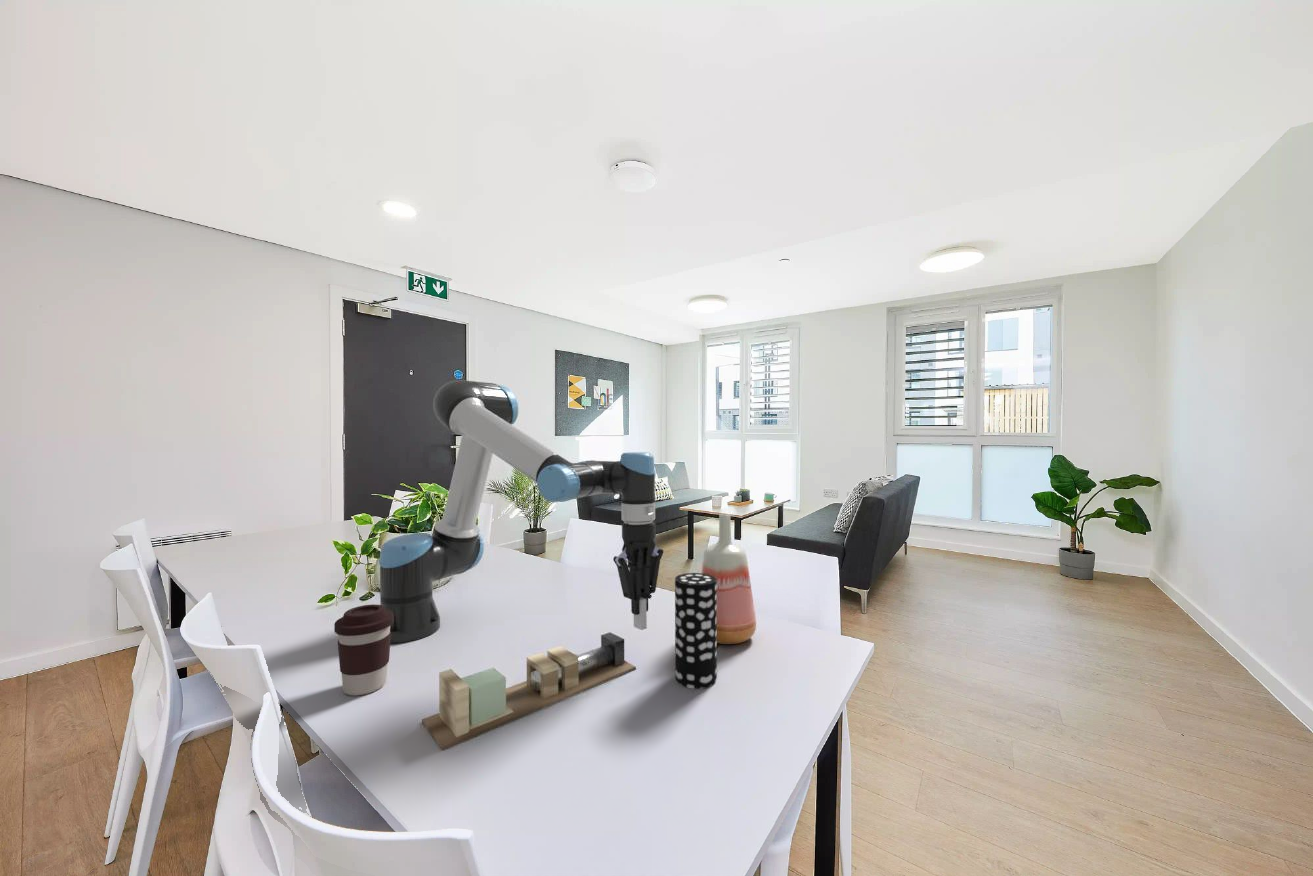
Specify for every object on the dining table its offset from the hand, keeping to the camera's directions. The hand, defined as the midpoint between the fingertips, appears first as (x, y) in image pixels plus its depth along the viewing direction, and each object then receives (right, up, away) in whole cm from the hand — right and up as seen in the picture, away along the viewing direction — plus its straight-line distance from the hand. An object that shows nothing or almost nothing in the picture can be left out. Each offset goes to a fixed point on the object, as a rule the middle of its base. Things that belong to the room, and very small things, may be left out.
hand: (640, 627), depth 109 cm
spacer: (-27, -6, -24) cm, 36 cm away
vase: (+20, -6, +9) cm, 23 cm away
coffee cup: (-53, -6, -14) cm, 55 cm away
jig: (-18, -6, -16) cm, 25 cm away
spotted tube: (+12, -6, -11) cm, 17 cm away
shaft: (-12, -5, -10) cm, 17 cm away
